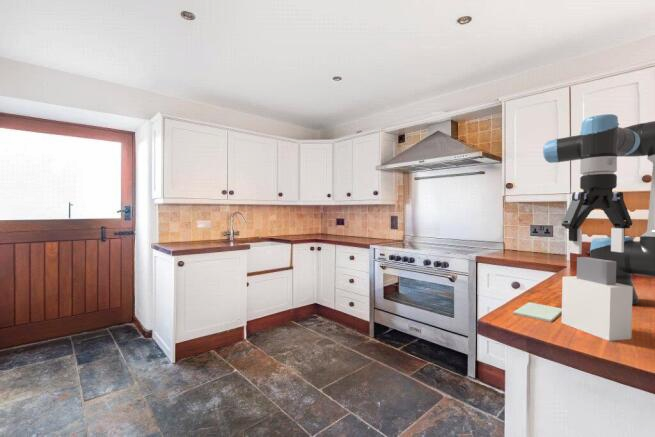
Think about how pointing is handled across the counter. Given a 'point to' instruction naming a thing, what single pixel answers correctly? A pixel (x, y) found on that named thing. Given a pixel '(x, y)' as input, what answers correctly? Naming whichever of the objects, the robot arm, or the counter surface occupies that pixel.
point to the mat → (538, 311)
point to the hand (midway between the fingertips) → (596, 252)
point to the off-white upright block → (597, 300)
